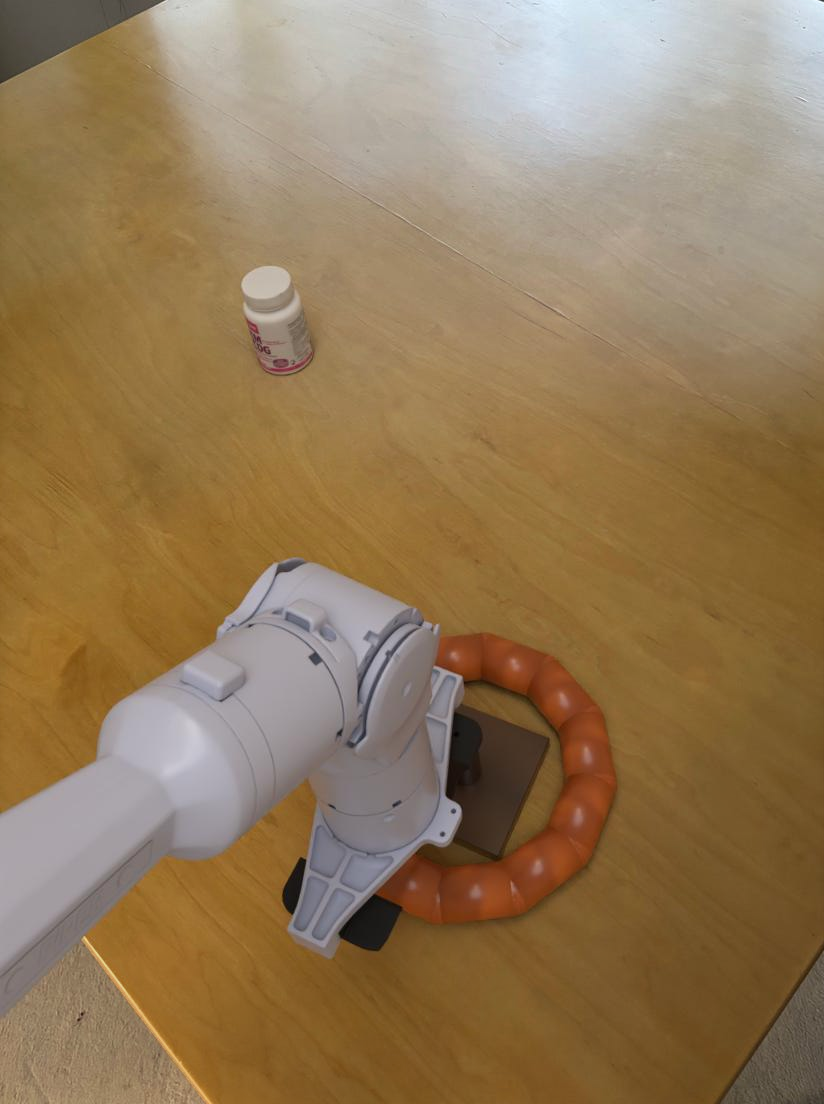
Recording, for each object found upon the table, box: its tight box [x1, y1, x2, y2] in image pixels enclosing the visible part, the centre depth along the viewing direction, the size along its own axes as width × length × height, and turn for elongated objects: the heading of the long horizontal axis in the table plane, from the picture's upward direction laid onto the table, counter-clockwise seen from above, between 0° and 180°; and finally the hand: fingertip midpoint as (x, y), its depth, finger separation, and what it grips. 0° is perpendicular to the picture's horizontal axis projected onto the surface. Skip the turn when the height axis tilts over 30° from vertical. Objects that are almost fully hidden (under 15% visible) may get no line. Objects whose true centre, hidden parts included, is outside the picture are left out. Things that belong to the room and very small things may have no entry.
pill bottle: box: [240, 265, 314, 376], centre depth 88 cm, size 5×5×8 cm
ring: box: [374, 632, 618, 926], centre depth 66 cm, size 18×18×3 cm
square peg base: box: [451, 703, 551, 861], centre depth 65 cm, size 8×8×6 cm
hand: (402, 860), depth 59 cm, fingers open, 7 cm apart
